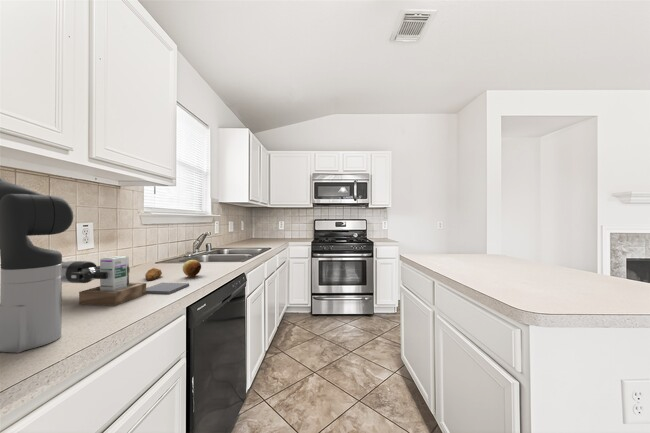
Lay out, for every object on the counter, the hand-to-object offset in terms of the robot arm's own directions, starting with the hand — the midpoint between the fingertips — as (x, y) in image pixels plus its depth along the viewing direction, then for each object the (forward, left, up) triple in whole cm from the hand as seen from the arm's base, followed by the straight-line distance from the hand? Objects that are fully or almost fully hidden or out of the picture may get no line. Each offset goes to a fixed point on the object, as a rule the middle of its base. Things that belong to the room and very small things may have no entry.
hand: (118, 272), depth 91 cm
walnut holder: (0, +1, -9) cm, 9 cm away
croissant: (+31, +12, -10) cm, 34 cm away
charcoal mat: (+13, -8, -9) cm, 18 cm away
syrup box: (0, +1, -9) cm, 9 cm away
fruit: (+35, -5, -9) cm, 36 cm away
